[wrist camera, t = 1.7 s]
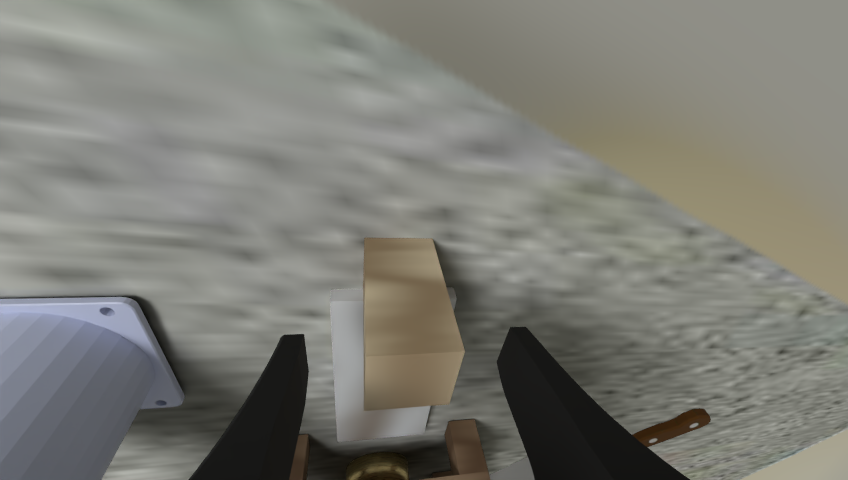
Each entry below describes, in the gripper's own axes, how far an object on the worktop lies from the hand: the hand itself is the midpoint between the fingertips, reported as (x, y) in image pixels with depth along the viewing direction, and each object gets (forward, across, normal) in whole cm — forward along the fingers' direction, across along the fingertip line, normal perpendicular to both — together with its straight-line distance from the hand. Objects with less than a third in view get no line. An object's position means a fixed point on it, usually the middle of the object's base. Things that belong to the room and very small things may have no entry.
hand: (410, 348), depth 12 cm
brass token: (+5, 0, +22) cm, 22 cm away
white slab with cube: (+5, 0, +7) cm, 8 cm away
